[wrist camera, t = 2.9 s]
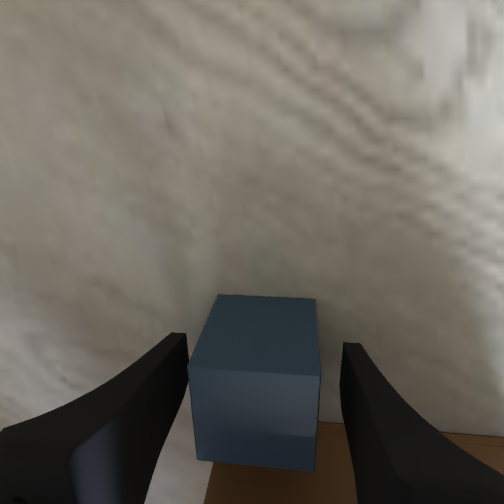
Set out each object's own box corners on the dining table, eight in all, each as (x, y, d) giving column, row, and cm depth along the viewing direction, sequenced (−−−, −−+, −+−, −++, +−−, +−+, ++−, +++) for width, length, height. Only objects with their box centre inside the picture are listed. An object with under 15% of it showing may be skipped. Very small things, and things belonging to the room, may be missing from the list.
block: (222, 372, 17) (196, 460, 13) (217, 294, 15) (186, 366, 11) (311, 378, 16) (314, 472, 12) (315, 298, 15) (321, 375, 11)
